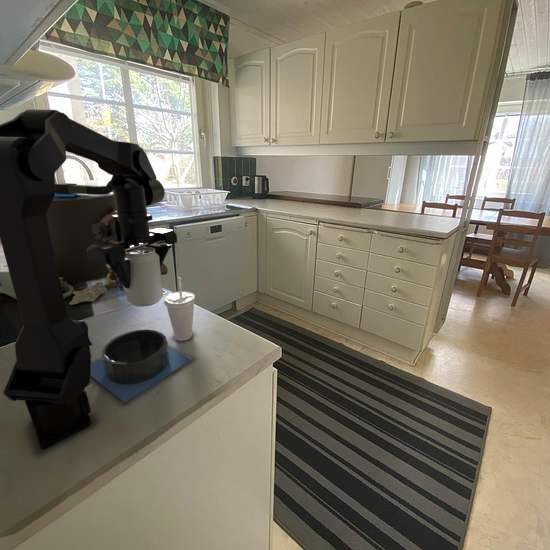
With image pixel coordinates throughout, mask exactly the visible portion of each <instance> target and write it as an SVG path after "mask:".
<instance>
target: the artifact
mask: <svg viewBox="0 0 550 550" xmlns="http://www.w3.org/2000/svg"><path fill="white" fill-rule="evenodd" d="M99 283H100V282H99ZM102 283H103V282H102ZM102 283H100V284H97V285H95V284H92V285H89V286H88V287H85V288H84V289H83V290H74V292H73V294H72V295H74V296H73V297H72V300H71V301H69V305H70V306H74V305H77V304H81V303H85V302H92V303H93V302H95V301H96V299H97V298H99V296H100V295H101V294H105V292H107V291H108V288H105V287H104V283H103V284H102Z"/></svg>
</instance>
